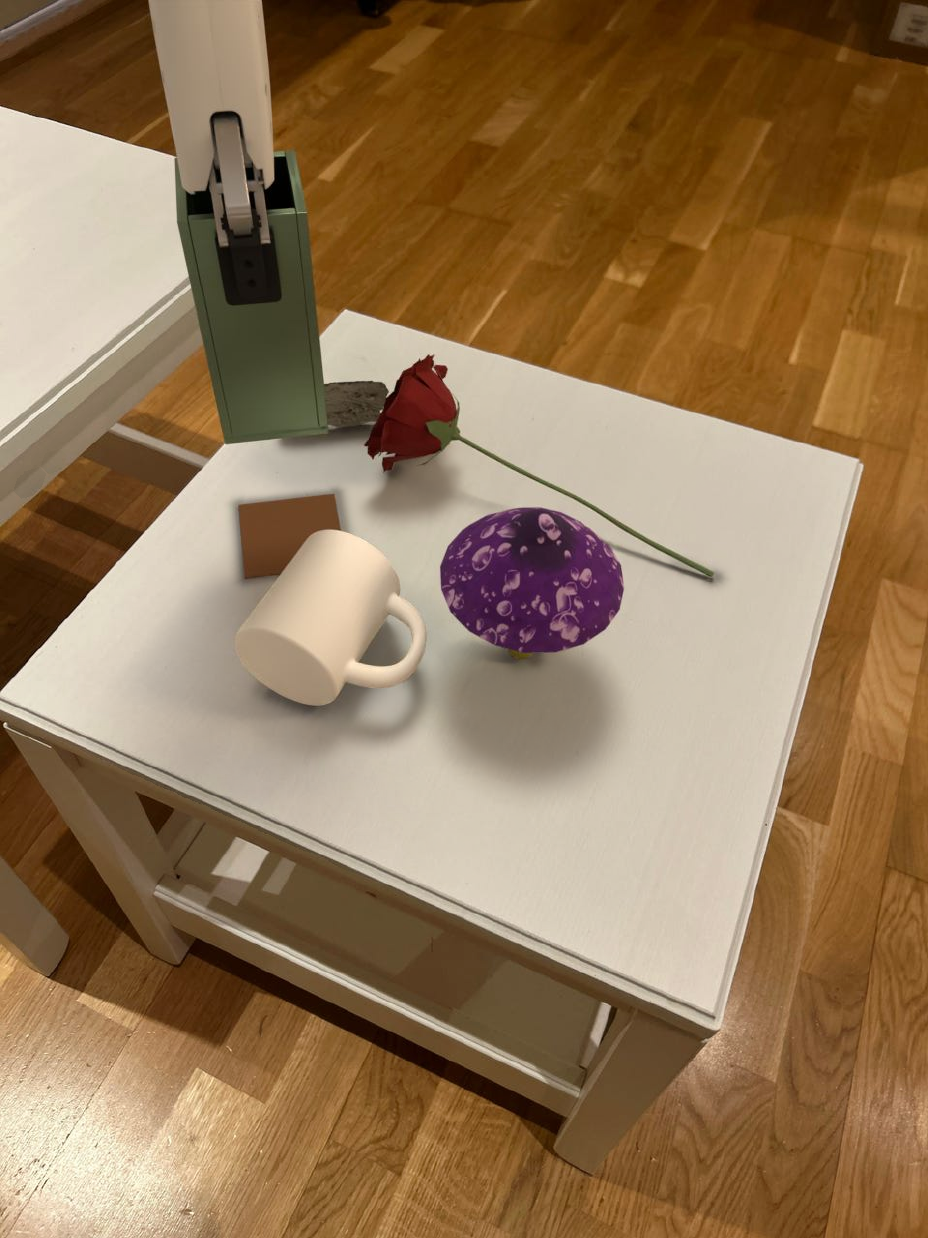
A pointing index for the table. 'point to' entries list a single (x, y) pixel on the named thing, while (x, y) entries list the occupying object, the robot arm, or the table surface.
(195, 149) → the robot arm
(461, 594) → the decorative mushroom
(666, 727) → the table surface
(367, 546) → the mug
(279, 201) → the box
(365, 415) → the stone fragment
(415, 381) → the flower
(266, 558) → the coaster
